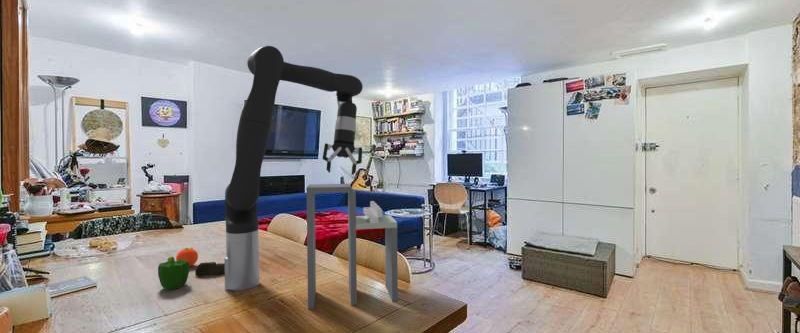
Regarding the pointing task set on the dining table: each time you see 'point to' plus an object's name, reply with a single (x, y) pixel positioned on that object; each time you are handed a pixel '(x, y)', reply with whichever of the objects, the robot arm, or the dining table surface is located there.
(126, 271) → the dining table surface
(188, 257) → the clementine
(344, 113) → the robot arm
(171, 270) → the bell pepper
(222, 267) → the hand tool
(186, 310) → the dining table surface
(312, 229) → the step stand
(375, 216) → the bracket
